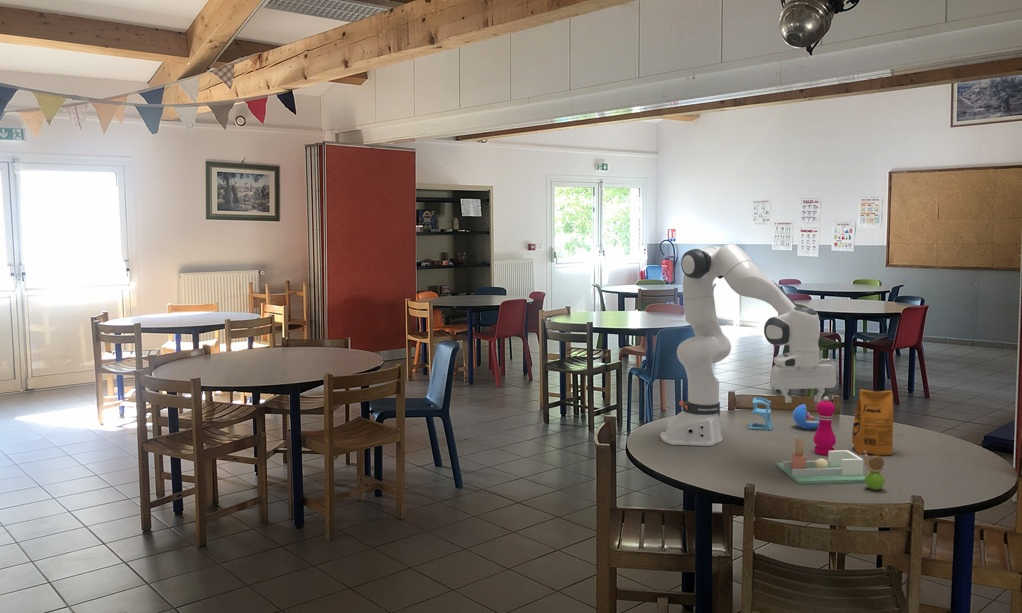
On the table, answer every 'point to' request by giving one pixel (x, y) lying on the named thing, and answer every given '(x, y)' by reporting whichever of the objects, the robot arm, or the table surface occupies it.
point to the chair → (762, 414)
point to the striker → (798, 456)
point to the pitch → (828, 470)
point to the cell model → (805, 418)
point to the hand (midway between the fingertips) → (802, 402)
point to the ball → (821, 463)
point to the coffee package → (873, 423)
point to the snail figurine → (874, 472)
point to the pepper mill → (824, 428)
